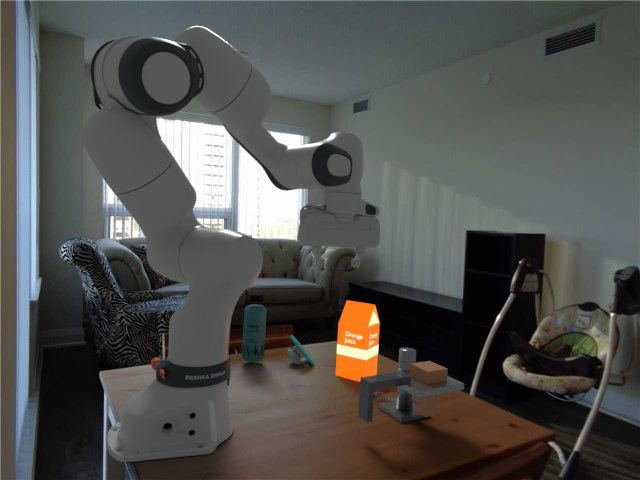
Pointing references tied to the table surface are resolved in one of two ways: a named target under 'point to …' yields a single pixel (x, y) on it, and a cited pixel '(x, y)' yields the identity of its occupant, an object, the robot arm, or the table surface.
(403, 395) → the grey windowed jig
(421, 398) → the brown block
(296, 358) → the ornament
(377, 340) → the orange juice
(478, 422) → the table surface
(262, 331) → the beverage bottle
